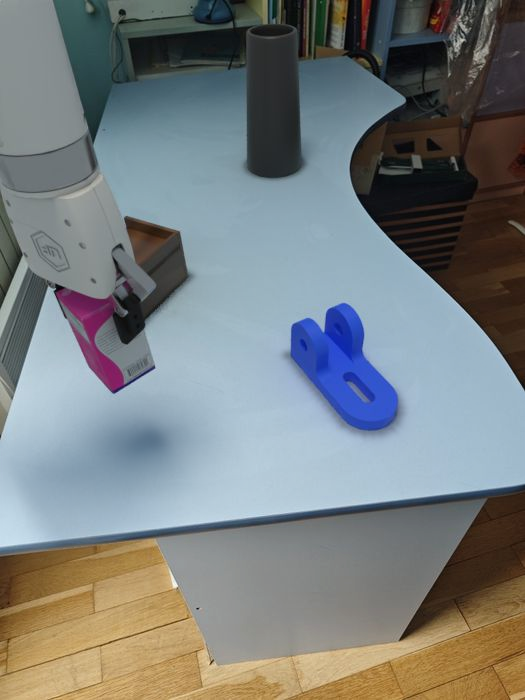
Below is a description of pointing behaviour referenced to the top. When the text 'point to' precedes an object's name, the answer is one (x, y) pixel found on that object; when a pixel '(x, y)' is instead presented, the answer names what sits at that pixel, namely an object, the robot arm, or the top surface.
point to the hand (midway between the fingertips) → (105, 322)
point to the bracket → (343, 367)
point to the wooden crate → (157, 259)
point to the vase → (273, 100)
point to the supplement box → (105, 340)
